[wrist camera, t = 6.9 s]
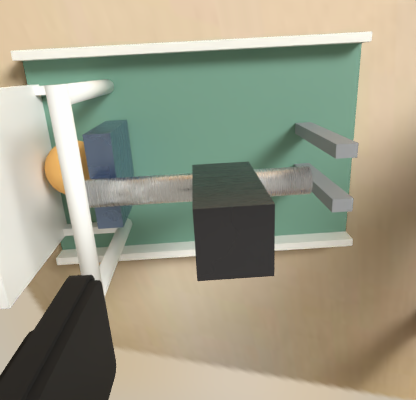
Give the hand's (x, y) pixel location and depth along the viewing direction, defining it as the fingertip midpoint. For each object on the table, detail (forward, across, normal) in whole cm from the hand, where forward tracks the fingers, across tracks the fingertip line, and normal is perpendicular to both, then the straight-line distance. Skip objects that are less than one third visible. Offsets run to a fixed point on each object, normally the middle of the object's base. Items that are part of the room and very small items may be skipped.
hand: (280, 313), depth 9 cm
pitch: (+21, +2, 0) cm, 21 cm away
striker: (+20, +3, 0) cm, 20 cm away
